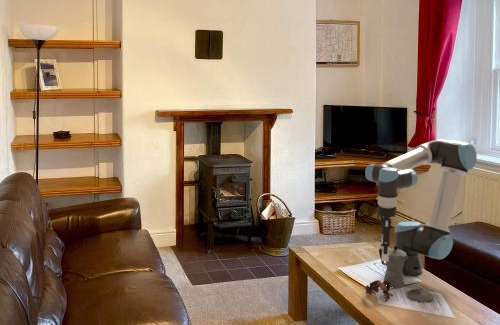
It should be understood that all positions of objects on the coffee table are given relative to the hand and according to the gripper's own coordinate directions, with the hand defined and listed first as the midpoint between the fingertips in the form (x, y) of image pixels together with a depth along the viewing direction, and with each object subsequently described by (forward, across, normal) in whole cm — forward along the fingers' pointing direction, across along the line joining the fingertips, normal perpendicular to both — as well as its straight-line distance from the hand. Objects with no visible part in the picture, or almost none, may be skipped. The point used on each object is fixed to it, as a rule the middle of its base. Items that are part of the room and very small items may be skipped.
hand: (384, 255), depth 226 cm
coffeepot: (+19, -16, +4) cm, 25 cm away
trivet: (+19, -4, +16) cm, 25 cm away
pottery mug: (+19, 0, -1) cm, 19 cm away
